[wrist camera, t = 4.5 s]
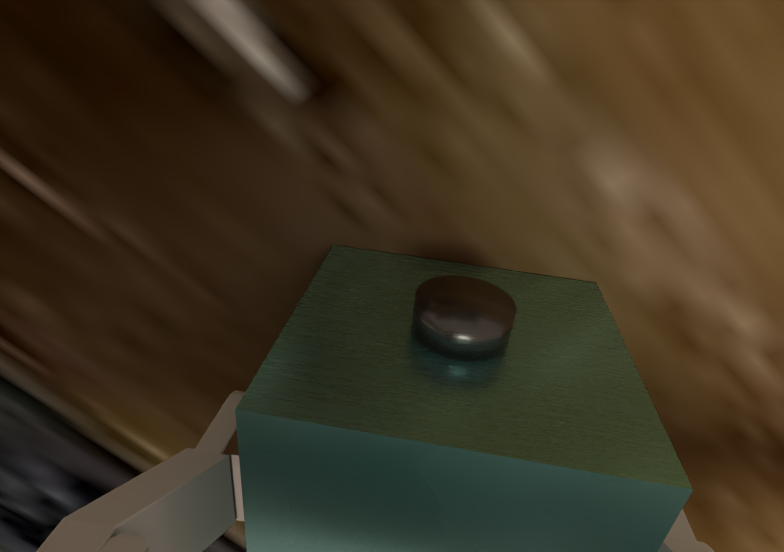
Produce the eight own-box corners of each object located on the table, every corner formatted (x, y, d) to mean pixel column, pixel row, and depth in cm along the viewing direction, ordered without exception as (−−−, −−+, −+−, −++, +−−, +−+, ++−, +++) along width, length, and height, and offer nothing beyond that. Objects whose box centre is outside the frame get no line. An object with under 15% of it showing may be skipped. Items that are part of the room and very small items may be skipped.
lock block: (325, 469, 14) (257, 680, 9) (334, 219, 10) (231, 371, 6) (522, 505, 13) (546, 743, 9) (604, 256, 10) (714, 453, 5)
